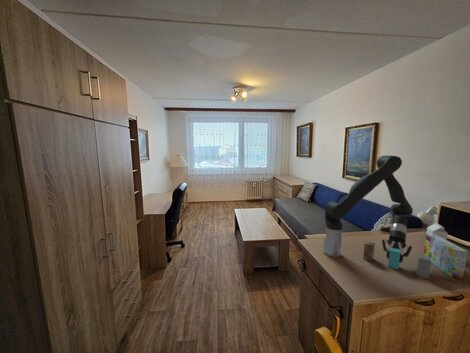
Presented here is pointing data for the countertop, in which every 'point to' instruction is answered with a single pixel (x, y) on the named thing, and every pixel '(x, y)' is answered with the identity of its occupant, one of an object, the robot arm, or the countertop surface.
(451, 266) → the snack box
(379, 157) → the robot arm
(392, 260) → the teal block
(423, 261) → the charcoal block
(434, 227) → the milk carton
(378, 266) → the countertop surface
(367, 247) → the walnut block
